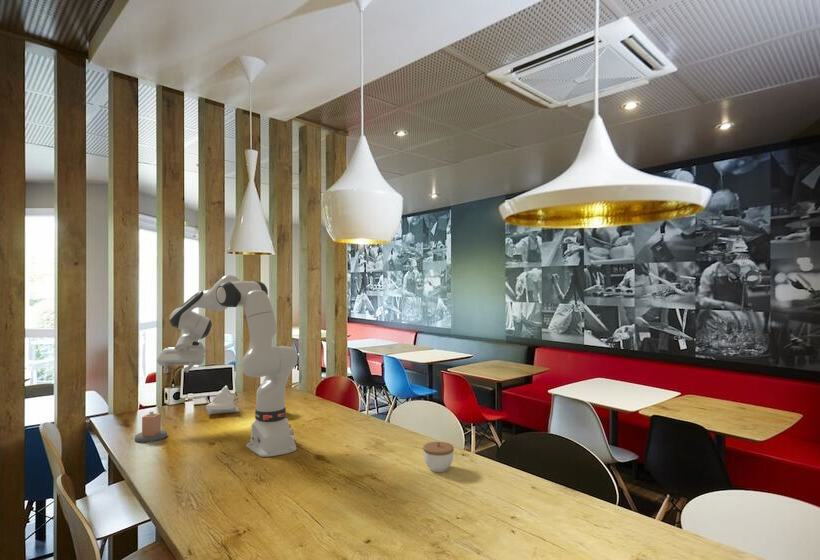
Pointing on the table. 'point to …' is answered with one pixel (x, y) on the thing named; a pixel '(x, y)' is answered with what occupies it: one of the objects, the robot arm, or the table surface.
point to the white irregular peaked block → (222, 403)
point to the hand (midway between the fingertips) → (175, 371)
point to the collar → (151, 425)
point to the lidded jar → (438, 455)
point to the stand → (150, 438)
